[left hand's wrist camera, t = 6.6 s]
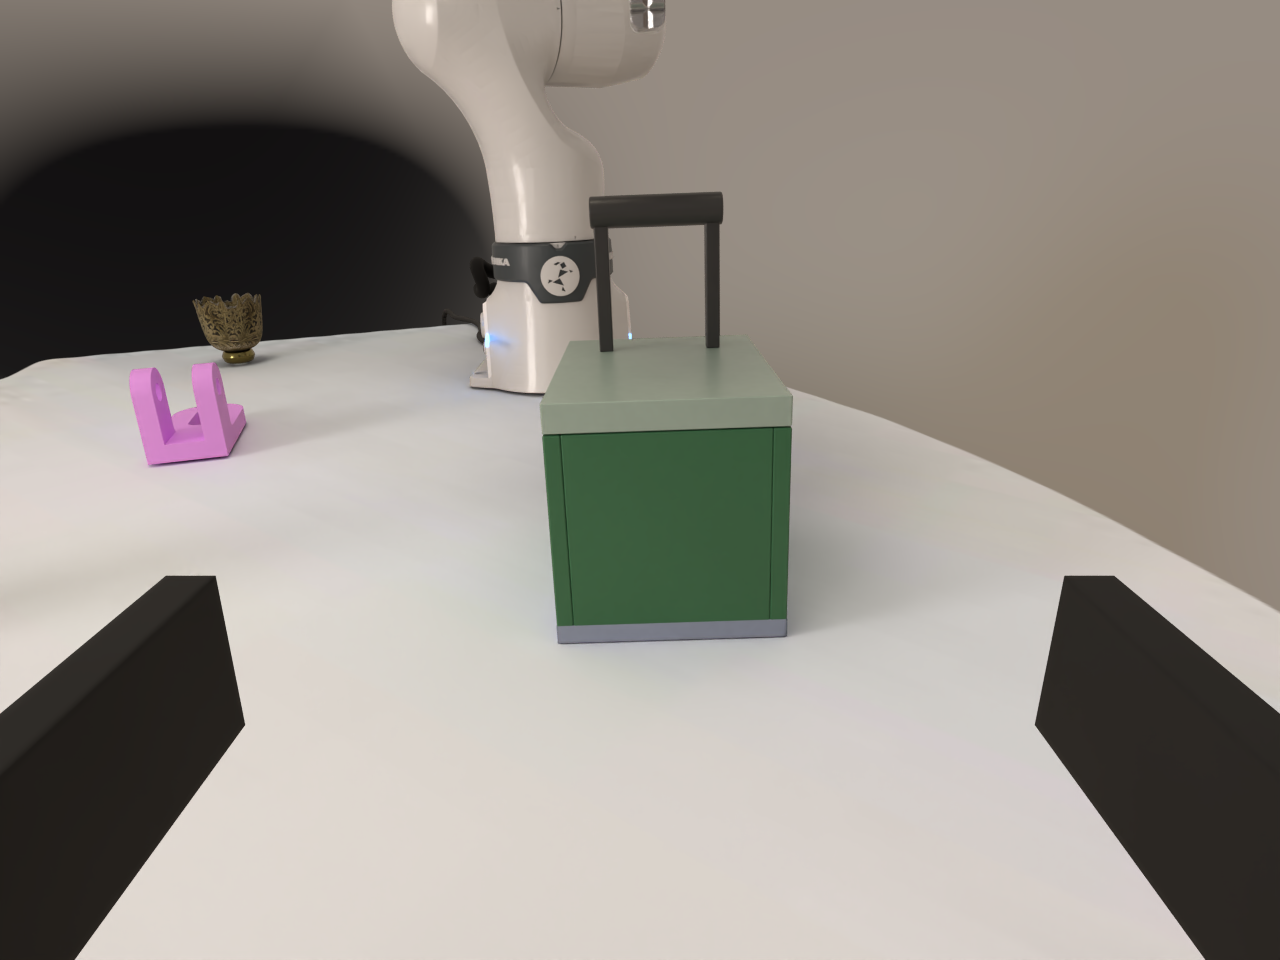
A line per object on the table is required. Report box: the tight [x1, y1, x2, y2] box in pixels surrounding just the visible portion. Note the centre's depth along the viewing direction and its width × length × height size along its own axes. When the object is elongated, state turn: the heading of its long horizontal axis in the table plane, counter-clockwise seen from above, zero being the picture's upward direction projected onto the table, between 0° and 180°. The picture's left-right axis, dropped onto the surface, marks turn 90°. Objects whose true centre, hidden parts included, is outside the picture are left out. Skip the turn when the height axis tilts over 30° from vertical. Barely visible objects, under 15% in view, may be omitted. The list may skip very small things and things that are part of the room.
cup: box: [193, 293, 262, 364], centre depth 100 cm, size 8×7×8 cm
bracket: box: [130, 363, 246, 465], centre depth 68 cm, size 13×6×7 cm, turn 17°
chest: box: [542, 426, 792, 643], centre depth 41 cm, size 14×10×9 cm
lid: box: [540, 192, 793, 434], centre depth 38 cm, size 14×10×9 cm
